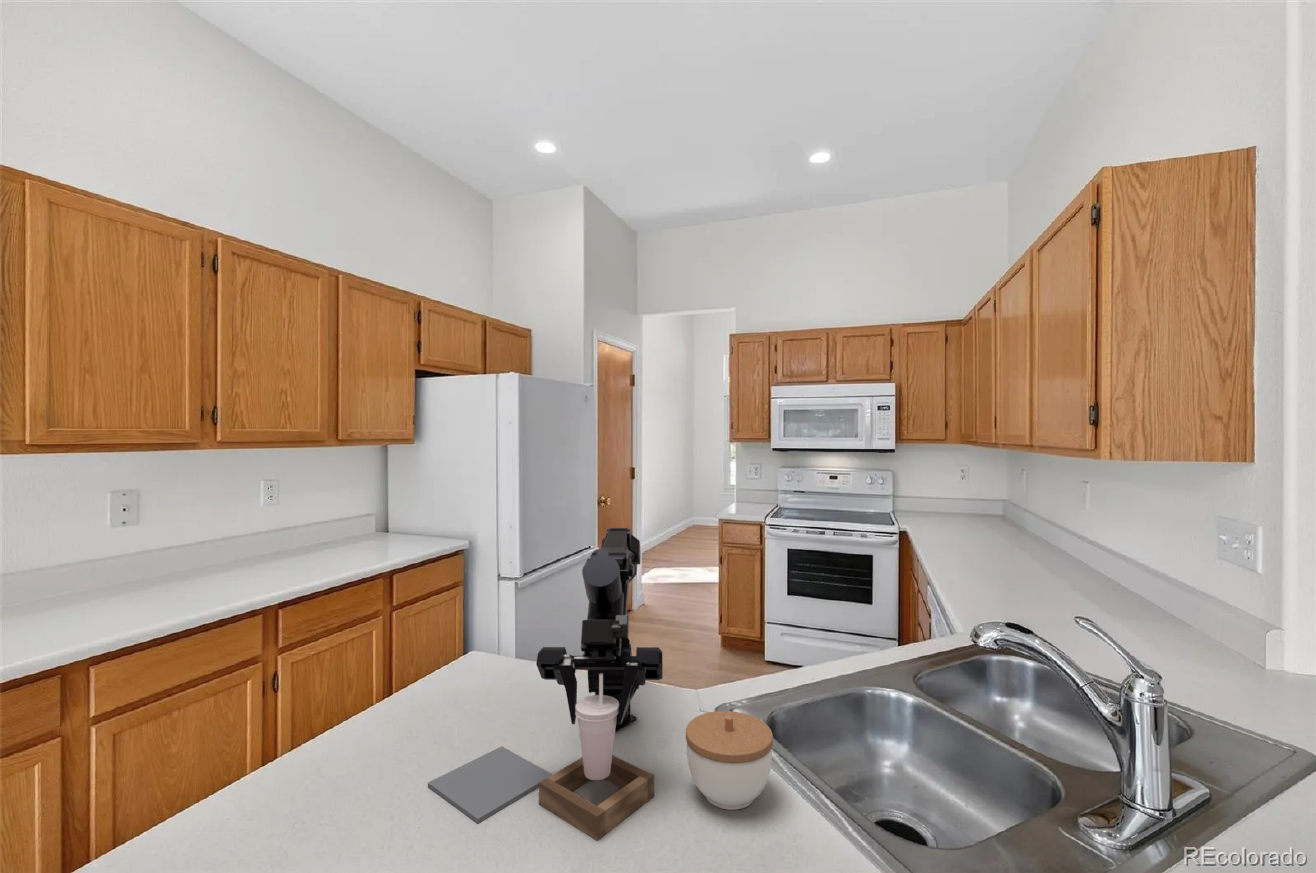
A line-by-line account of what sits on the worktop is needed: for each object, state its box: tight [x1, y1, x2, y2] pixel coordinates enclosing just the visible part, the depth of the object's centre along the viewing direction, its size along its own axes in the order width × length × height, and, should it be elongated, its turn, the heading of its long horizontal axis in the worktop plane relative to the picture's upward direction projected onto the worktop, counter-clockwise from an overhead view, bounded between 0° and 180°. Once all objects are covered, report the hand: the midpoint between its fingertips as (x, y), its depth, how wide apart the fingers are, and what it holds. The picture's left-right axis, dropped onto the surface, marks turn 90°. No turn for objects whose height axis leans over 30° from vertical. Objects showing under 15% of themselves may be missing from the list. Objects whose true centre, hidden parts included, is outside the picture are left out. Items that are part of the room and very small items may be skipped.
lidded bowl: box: [685, 710, 774, 811], centre depth 80 cm, size 13×13×11 cm
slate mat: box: [427, 746, 554, 824], centre depth 83 cm, size 13×13×1 cm
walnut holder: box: [538, 754, 655, 841], centre depth 78 cm, size 12×12×3 cm
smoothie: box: [575, 673, 619, 781], centre depth 79 cm, size 6×6×14 cm
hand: (596, 723), depth 77 cm, fingers closed on smoothie, 6 cm apart
